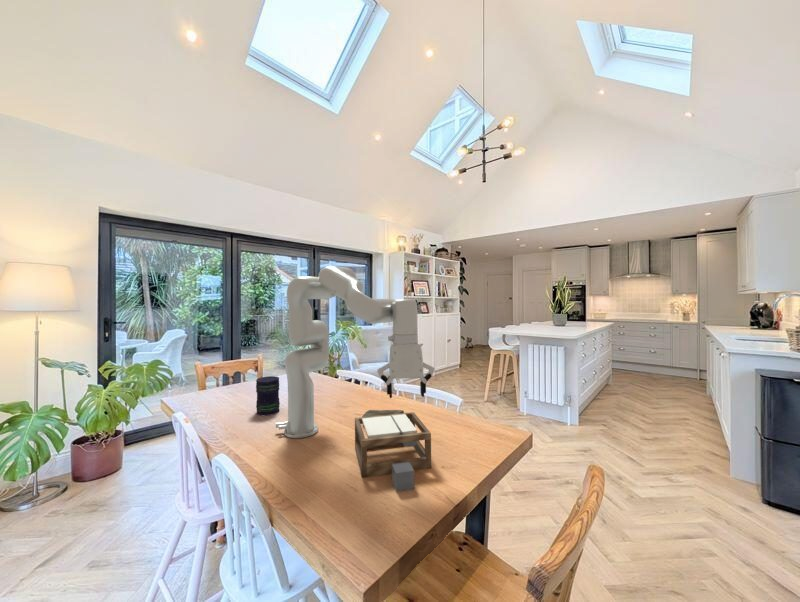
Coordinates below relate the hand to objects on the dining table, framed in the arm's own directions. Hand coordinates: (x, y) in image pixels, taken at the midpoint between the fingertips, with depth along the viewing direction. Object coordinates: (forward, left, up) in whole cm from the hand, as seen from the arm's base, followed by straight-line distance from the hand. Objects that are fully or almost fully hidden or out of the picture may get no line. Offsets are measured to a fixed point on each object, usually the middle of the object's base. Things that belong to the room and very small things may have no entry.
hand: (406, 396), depth 97 cm
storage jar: (-49, +62, -22) cm, 82 cm away
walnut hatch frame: (-4, +7, -21) cm, 23 cm away
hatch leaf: (-4, +7, -15) cm, 17 cm away
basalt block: (-4, -9, -22) cm, 24 cm away
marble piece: (-1, +35, -22) cm, 41 cm away
